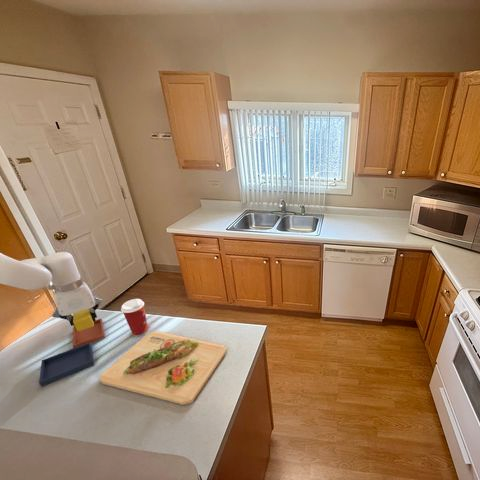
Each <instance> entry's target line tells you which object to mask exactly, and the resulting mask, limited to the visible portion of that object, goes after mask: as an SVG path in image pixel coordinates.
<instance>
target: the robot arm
mask: <svg viewBox="0 0 480 480" xmlns="http://www.w3.org/2000/svg"><path fill="white" fill-rule="evenodd" d="M51 283H52V284H51ZM0 284H1V285H4V286H8V287H13V288H17V289H21V290H25V291H37V290H42V289H44V288H47V289H48V291H51V290H54V291H53V299H54V303H55V305H56V308H55V309H54V311H53V313H52V314H51V315H52V316H51V318H57V319H63V320H66V321H68V323H69V324H70V326H71V327H73V328H75V326H74V324H73V314H74V313H77V312H81V311H84V310H87V309H88V310H89V311H90V315H91V317H92V319H93V321H95V320H96V319H98V315H97V313H96V311H97V309H98V308H99V307H100V305H101V304H103V303H104V300H103V298H100V297H97V296H95V295H94V293H93V292H92V290H91V289H90V287H89V286H88V284H87V283H86V282H85V281H83V279H82V275H81V274H80V272H79V269H78V267H77V264H76V262H75V258H74V256H73V255H72V254H71V253H70V252H68V251H59V252H54V253H51V254H50V253H49V254H48V255H46V256H39V257H33V258H27V259H22V260H18V259H15V258H13V257H10V256H8V255H5V254H4V253H2V252H0ZM50 284H51V285H50Z"/></svg>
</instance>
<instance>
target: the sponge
mask: <svg viewBox="0 0 480 480" xmlns="http://www.w3.org/2000/svg"><path fill="white" fill-rule="evenodd" d="M72 315H73V324H74V326H75V328H76V330H77V332H78V331H81V330H84V329H87V328H90V327H93V326H94V321H93V319H92V317H91V315H90V311H89V310H88V309H87V310H84V311H81V312H77V313H74V314H72ZM74 326H73V327H74Z"/></svg>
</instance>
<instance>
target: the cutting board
mask: <svg viewBox="0 0 480 480" xmlns="http://www.w3.org/2000/svg"><path fill="white" fill-rule="evenodd" d="M227 352H228V349H227V348H226V347H225V345H223V344H219V343H215V342H209V341H204V340H200V339H196V338H191V337H187V336H181V335H176V334H172V333H167V332H163V331H158V330H155V331H149V332H147V333H146V334H145V335H144V336H143V337H142V338H140V339H139V340H138V341H137V342H136V343H135V344H133V345H132V347H130V348H129V349H128V350H127V351H126V352H125V353H124V354H123V355H121V356H120V357H119V358H117V360H116V361H114V362H113V363H112V364H111V365H110V366H109V367H108V368H106V369H105V370H104V371H103V372H102V373H101V374H100V375H99V381H100V383H101V384H102V385H105V386H109V387H113V388H117V389H122V390H125V391H129V392H133V393H136V394H139V395H140V394H141V395H144V396H148V397H151V398H156V399H158V400H159V399H160V400H163V401H167V402H171V403H175V404H178V405H181V406H182V405H183V406H184V405H188V404H191V403H194V401H195V399H196V398H197V396H198V395H199V393H200V392H201V391H202V389H203V387H204V386H205V385H206V383H207V382H208V380H209V379H210V377H211V376H212V374H213V373H214V372H215V371H216V369H217V367H218V365H219V364H220V363H221V361H222V360H223V359H224V356H225V355H226V354H227Z"/></svg>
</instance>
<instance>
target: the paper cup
mask: <svg viewBox="0 0 480 480" xmlns="http://www.w3.org/2000/svg"><path fill="white" fill-rule="evenodd" d="M120 311H121V312H122V313H123V316H124V318H125V320H126V323H127V325H128V327H129V329H130V332H131V334H132V335H133V336H141V335H143V334H145V333H146V332H147V331H148V330H149V325H148V319H147V315H146V310H145V302H144V301H143V300H142V298H141V299H140V298H132V299H129V300H127V301H125V302H123V304H122V305H121V308H120Z"/></svg>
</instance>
